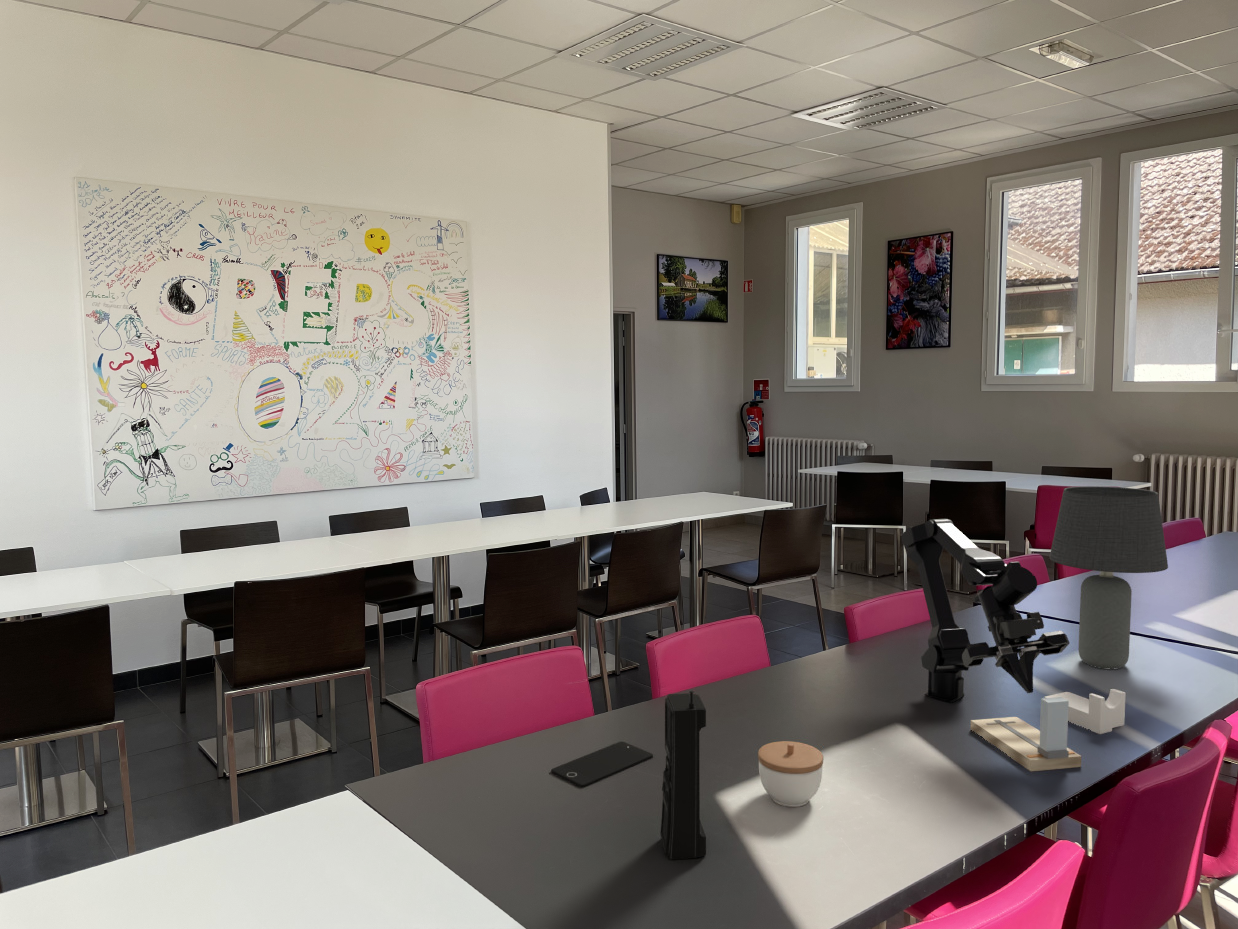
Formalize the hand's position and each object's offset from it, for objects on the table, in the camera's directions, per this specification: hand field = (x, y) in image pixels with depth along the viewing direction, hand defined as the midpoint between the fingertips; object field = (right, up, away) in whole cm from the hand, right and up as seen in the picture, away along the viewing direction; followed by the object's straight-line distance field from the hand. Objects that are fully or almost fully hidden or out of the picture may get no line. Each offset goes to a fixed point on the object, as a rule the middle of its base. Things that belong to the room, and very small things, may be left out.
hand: (1030, 692), depth 161 cm
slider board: (0, -11, +3) cm, 11 cm away
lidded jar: (-48, -14, -17) cm, 53 cm away
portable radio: (-68, -15, -31) cm, 76 cm away
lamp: (+42, -7, +51) cm, 66 cm away
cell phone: (-80, -13, -3) cm, 81 cm away
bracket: (+18, -10, +16) cm, 26 cm away
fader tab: (+1, -10, -6) cm, 11 cm away
